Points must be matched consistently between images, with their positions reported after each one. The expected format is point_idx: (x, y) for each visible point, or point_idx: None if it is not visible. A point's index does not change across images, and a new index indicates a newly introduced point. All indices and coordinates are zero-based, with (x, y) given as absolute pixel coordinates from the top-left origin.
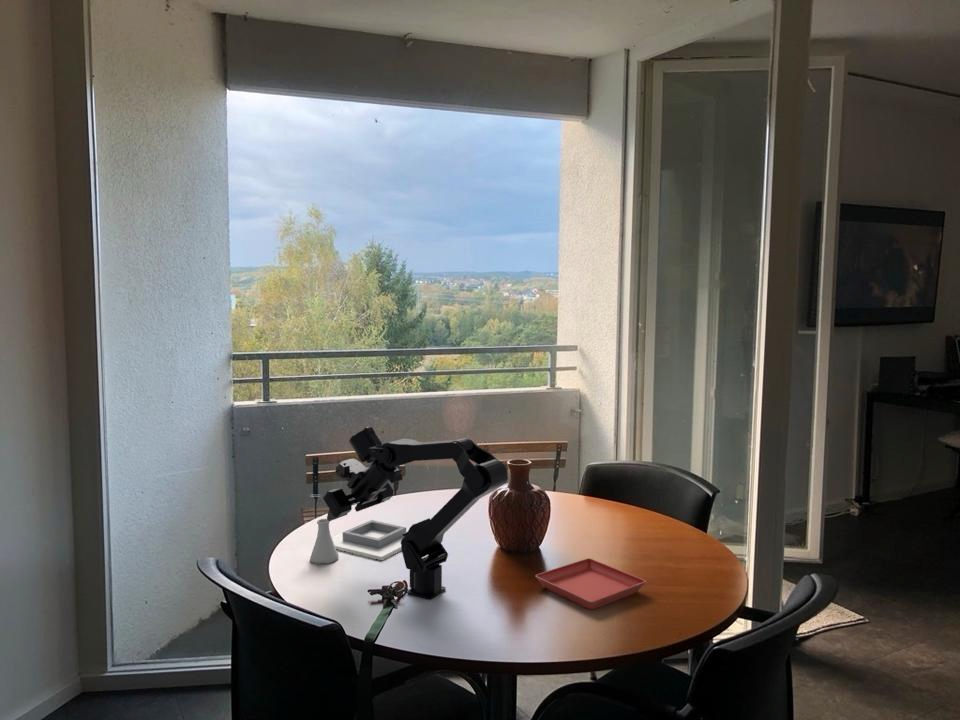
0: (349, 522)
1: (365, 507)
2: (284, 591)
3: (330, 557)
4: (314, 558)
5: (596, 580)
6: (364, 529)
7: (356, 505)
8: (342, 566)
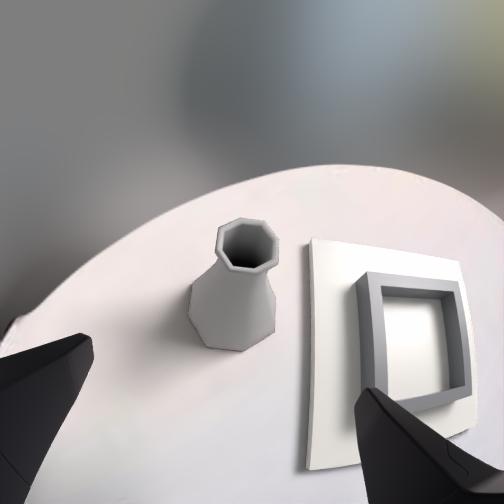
0: (434, 222)
1: (370, 490)
2: (21, 330)
3: (215, 340)
4: (193, 295)
5: None
6: (425, 294)
7: (377, 407)
8: (208, 394)
